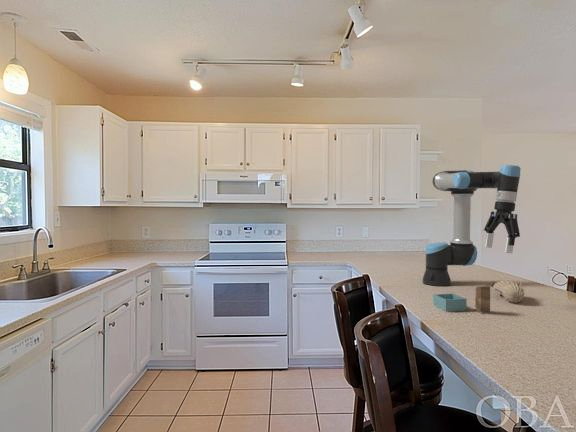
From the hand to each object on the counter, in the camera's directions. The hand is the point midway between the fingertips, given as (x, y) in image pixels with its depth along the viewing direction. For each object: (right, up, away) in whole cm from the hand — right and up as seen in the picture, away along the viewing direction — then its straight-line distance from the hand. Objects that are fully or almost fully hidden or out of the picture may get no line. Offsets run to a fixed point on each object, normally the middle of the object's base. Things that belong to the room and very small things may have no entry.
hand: (498, 250), depth 153 cm
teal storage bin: (-20, -26, +2) cm, 33 cm away
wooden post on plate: (-9, -26, -5) cm, 28 cm away
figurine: (+15, -25, +19) cm, 35 cm away
